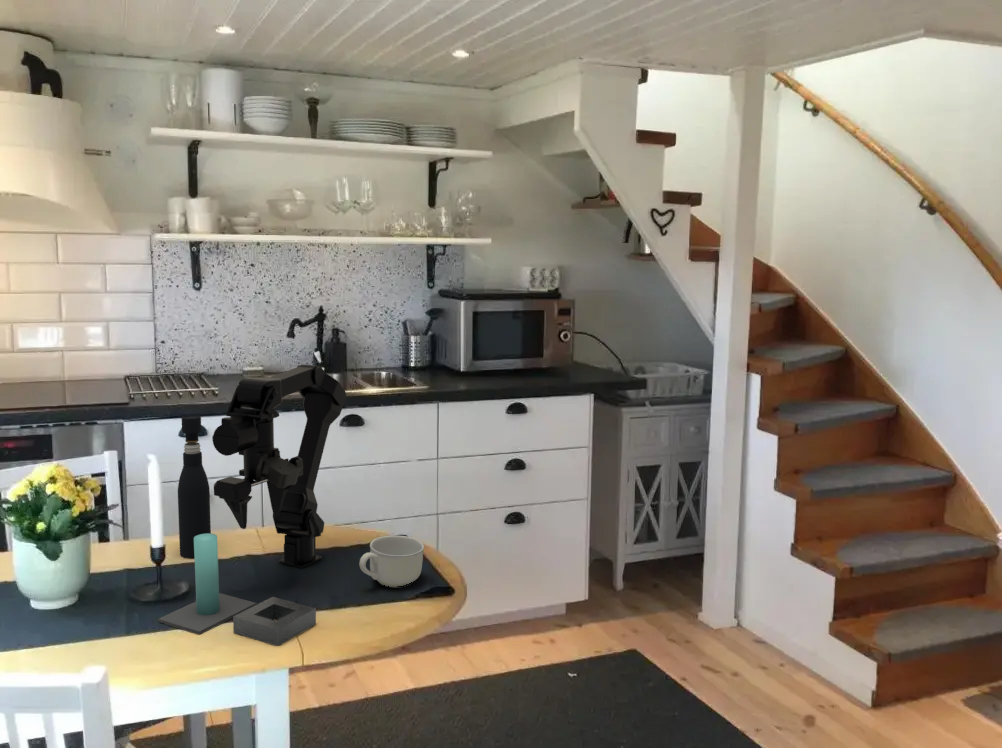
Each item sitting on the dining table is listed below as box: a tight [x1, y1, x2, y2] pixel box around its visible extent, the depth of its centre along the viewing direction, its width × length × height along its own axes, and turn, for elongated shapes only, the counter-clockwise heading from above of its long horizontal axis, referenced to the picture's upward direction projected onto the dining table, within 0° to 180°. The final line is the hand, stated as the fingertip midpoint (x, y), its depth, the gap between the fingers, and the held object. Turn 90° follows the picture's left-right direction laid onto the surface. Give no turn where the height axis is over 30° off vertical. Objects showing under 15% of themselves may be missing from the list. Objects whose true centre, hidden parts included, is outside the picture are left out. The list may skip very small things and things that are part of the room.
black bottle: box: [177, 414, 212, 560], centre depth 194 cm, size 6×6×30 cm
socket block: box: [232, 596, 317, 647], centre depth 161 cm, size 10×10×3 cm
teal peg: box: [194, 532, 220, 615], centre depth 165 cm, size 4×4×14 cm
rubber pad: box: [157, 592, 257, 635], centre depth 167 cm, size 14×10×1 cm
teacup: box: [358, 535, 425, 588], centre depth 182 cm, size 14×11×8 cm
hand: (260, 521), depth 178 cm, fingers open, 9 cm apart
